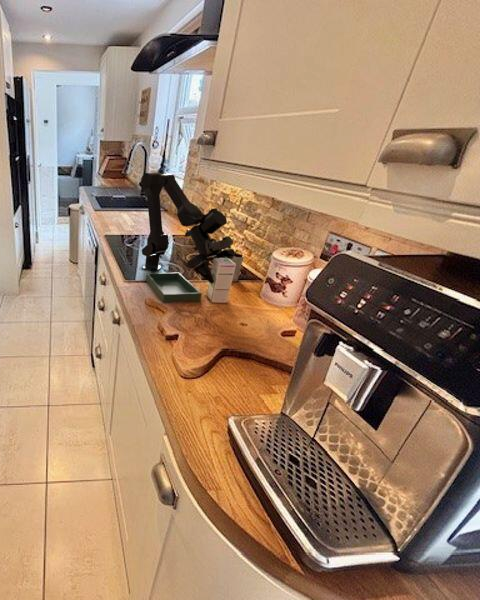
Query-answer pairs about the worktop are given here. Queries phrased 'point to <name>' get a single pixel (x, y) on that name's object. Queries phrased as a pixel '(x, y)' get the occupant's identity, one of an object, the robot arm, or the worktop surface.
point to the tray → (172, 287)
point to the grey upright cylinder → (237, 265)
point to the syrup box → (221, 280)
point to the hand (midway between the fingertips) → (221, 280)
